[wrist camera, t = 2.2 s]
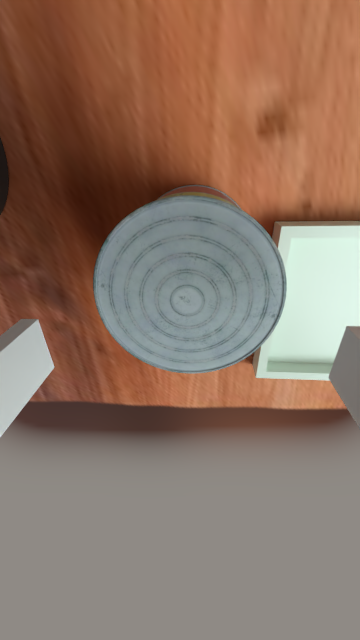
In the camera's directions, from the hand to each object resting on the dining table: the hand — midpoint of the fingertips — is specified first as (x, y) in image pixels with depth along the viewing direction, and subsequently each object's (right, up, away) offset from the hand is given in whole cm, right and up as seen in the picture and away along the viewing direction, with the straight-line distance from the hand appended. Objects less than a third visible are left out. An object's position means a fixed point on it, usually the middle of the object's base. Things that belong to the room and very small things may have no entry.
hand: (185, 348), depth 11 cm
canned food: (+1, +8, +14) cm, 17 cm away
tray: (+17, +3, +16) cm, 23 cm away
